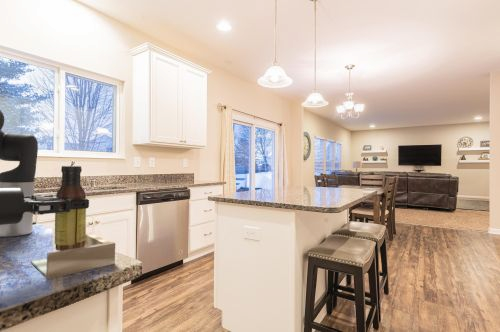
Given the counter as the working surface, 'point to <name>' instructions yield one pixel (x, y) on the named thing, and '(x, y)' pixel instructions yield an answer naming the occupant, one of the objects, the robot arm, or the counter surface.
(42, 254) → the counter surface
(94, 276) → the counter surface
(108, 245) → the beige l-shaped piece
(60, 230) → the sauce bottle
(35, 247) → the counter surface
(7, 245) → the counter surface
